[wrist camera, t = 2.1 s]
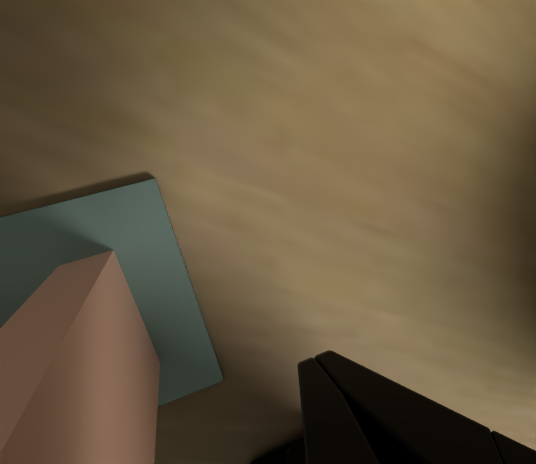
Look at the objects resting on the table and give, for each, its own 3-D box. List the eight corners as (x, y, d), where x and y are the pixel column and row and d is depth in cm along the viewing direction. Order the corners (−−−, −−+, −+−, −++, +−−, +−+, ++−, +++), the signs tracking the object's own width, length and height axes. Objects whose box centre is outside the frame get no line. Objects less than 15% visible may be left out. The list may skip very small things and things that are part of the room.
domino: (160, 362, 13) (141, 668, 5) (113, 379, 12) (25, 733, 5) (113, 250, 11) (-6, 464, 4) (58, 265, 11) (-196, 538, 3)
